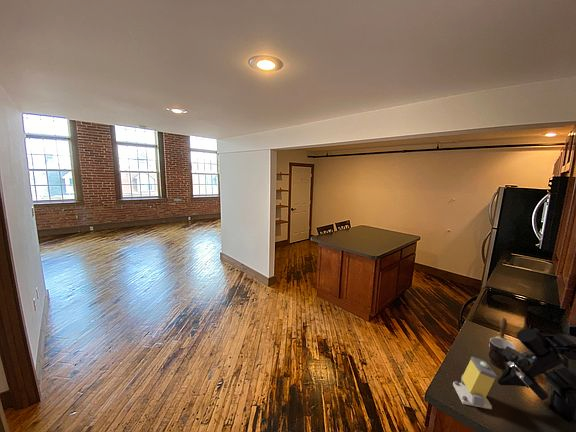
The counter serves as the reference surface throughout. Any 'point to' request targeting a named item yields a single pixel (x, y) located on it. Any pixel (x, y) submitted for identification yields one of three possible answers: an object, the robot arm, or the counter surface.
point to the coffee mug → (494, 355)
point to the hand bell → (502, 329)
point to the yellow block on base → (478, 377)
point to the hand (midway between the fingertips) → (498, 383)
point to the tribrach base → (470, 396)
